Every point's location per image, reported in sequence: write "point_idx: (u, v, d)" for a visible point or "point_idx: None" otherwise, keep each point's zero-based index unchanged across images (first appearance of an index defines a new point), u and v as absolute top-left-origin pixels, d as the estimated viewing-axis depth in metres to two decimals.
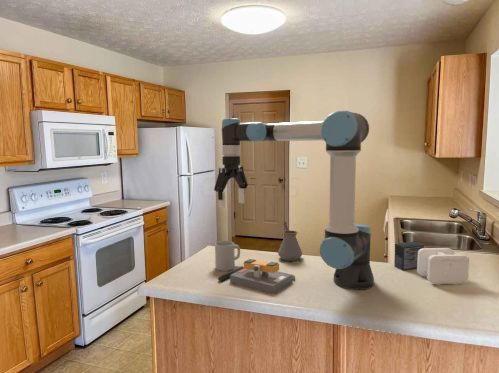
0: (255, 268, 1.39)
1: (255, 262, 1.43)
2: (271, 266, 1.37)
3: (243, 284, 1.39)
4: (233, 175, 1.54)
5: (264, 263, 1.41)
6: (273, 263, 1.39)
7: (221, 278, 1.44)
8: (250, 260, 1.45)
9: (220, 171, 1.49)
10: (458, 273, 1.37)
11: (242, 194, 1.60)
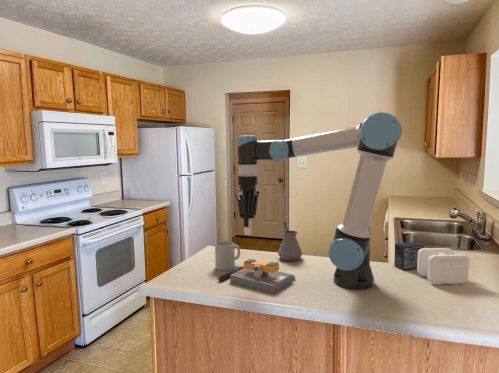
0: (255, 268, 1.39)
1: (255, 262, 1.43)
2: (271, 266, 1.37)
3: (243, 284, 1.39)
4: (250, 196, 1.42)
5: (264, 263, 1.41)
6: (273, 263, 1.39)
7: (221, 278, 1.44)
8: (250, 260, 1.45)
9: (238, 198, 1.38)
10: (458, 273, 1.37)
11: None
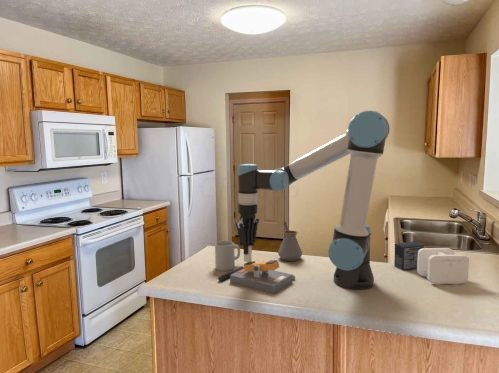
0: (255, 268, 1.39)
1: (255, 263, 1.43)
2: (270, 264, 1.37)
3: (243, 284, 1.39)
4: (249, 224, 1.43)
5: (264, 262, 1.41)
6: (272, 261, 1.39)
7: (221, 278, 1.44)
8: (250, 262, 1.45)
9: (238, 227, 1.39)
10: (458, 273, 1.37)
11: None
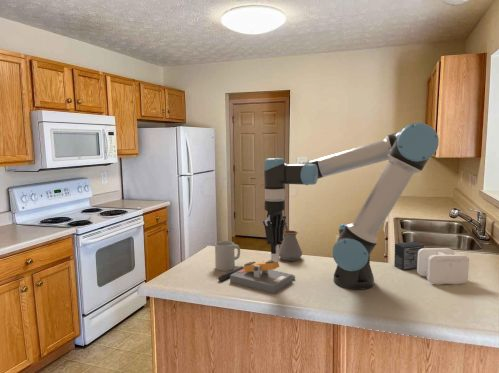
0: (255, 268, 1.39)
1: (255, 263, 1.43)
2: (270, 263, 1.37)
3: (243, 284, 1.39)
4: None
5: (263, 262, 1.41)
6: None
7: (221, 278, 1.44)
8: (250, 262, 1.45)
9: (265, 225, 1.32)
10: (458, 273, 1.37)
11: None
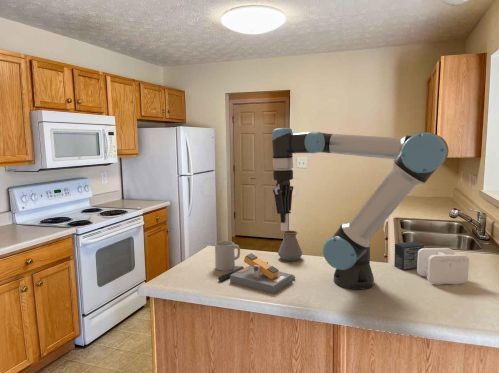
0: (255, 268, 1.39)
1: (257, 261, 1.43)
2: (271, 272, 1.37)
3: (243, 284, 1.39)
4: None
5: (265, 265, 1.41)
6: (274, 269, 1.39)
7: (221, 278, 1.44)
8: (252, 256, 1.44)
9: (275, 193, 1.34)
10: (458, 273, 1.37)
11: None
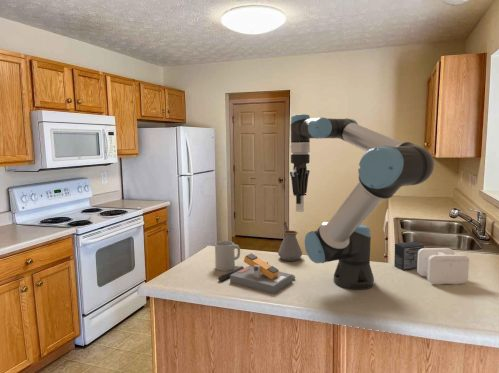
0: (255, 268, 1.39)
1: (257, 261, 1.43)
2: (271, 272, 1.37)
3: (243, 284, 1.39)
4: None
5: (265, 265, 1.41)
6: (274, 269, 1.39)
7: (221, 278, 1.44)
8: (252, 256, 1.44)
9: (292, 176, 1.43)
10: (458, 273, 1.37)
11: None
